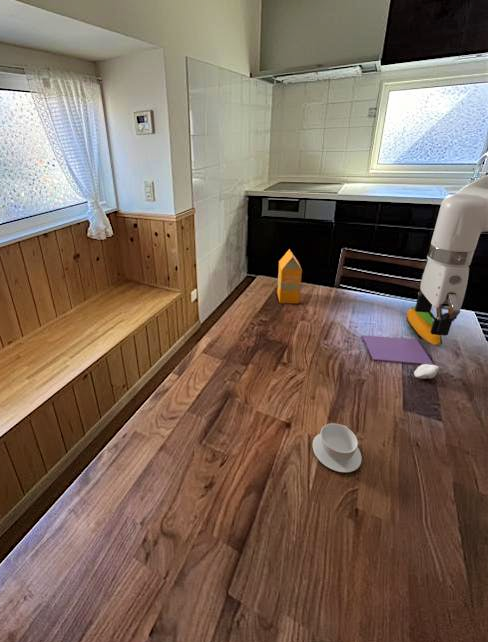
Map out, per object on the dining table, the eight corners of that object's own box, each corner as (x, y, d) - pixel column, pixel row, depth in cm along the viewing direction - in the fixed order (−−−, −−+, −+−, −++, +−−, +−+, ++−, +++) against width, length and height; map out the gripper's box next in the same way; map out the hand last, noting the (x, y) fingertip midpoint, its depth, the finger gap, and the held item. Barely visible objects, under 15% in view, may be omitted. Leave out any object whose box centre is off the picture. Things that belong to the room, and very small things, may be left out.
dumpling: (431, 387, 90) (430, 376, 89) (410, 379, 94) (409, 368, 93) (443, 372, 93) (442, 361, 92) (422, 365, 97) (421, 354, 96)
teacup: (352, 483, 68) (356, 467, 66) (305, 455, 74) (306, 440, 72) (367, 448, 75) (370, 433, 73) (322, 425, 81) (324, 411, 79)
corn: (428, 300, 116) (456, 333, 98) (424, 319, 119) (451, 354, 101) (403, 300, 117) (427, 332, 100) (401, 318, 120) (423, 353, 103)
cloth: (417, 340, 108) (417, 339, 108) (433, 365, 97) (433, 364, 97) (363, 336, 111) (363, 335, 111) (372, 360, 101) (373, 358, 101)
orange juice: (295, 292, 141) (299, 248, 133) (299, 303, 133) (303, 256, 125) (276, 292, 142) (279, 248, 134) (279, 303, 134) (282, 256, 126)
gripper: (493, 271, 63) (466, 346, 70) (451, 241, 78) (433, 305, 85) (447, 269, 65) (425, 342, 72) (415, 240, 80) (400, 302, 87)
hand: (430, 322), depth 78 cm, fingers open, 9 cm apart
